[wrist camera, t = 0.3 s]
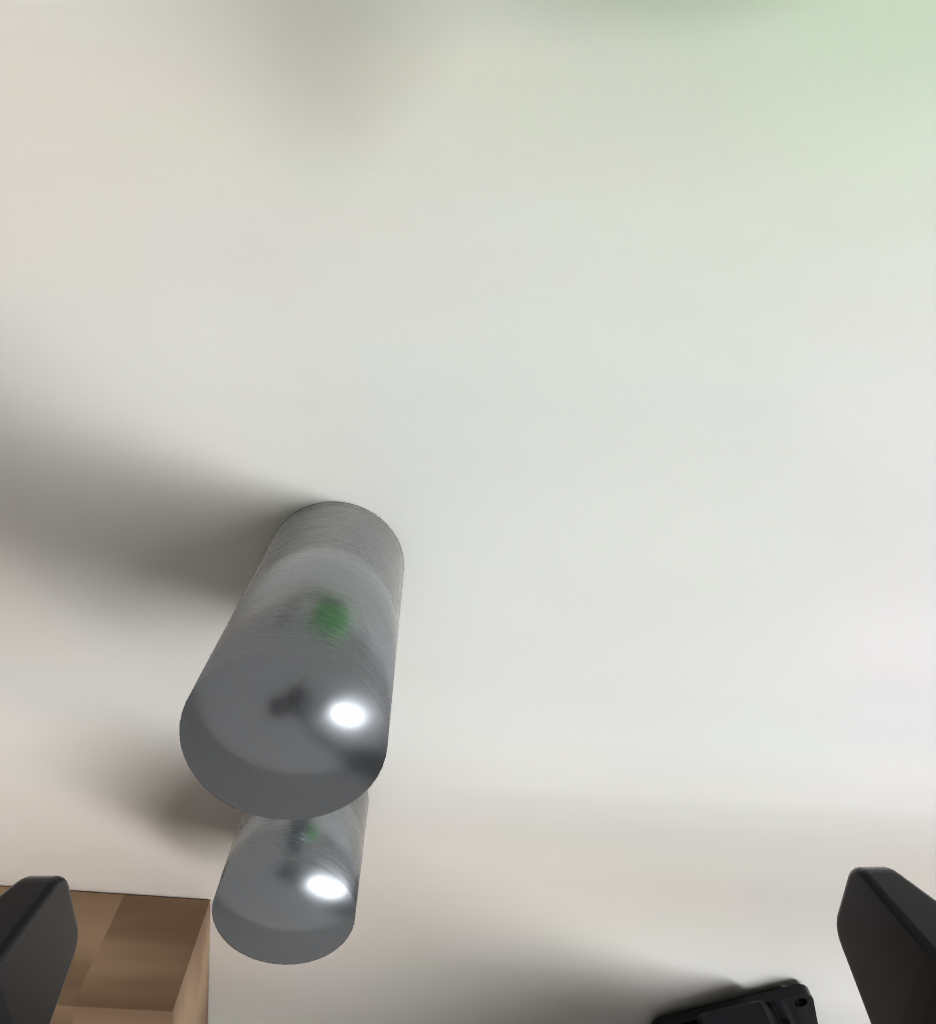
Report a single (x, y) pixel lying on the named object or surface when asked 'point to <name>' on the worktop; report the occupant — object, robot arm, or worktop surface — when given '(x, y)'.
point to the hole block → (137, 961)
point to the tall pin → (303, 671)
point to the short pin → (292, 885)
